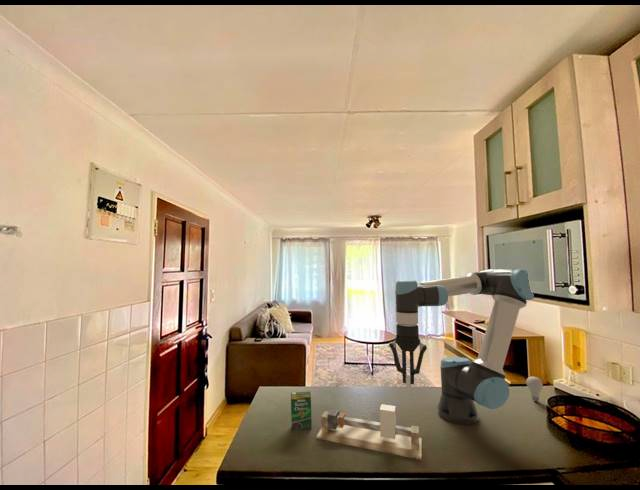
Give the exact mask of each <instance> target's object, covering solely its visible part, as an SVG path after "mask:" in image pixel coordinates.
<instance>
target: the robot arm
mask: <svg viewBox="0 0 640 490" xmlns="http://www.w3.org/2000/svg"><path fill="white" fill-rule="evenodd" d="M526 270H527V269H521V268H520V269H519V268H489V269H485V270H481V271H475V272H470V273H466V275H464V276H457V277H449V278H441V279H436V280H435V279H433V280H428V281H427V280H426V281H420V282H417V280H413V279H412V280H411V279H408V280H407V279H405V280H404V279H401V280H399V279H398V280H397V281H396V282H395V292H394V293H395V320H396V321H395V322H396V326H395V327H396V328H395V329H396V330H395V331H396V334H395V335H396V336H395V339H394V340H393V341H390V342H389V344H388V346H389V348H390V350H391V351H392V355H393V360H394V365H395V367H396V372H399V373H401V375H402V383H403V384H405V395H407V396H411V394H412V385H414V384H415V375H419V374H420V372H421V366H422V362H423V358H424V354H425V352H426V351H427V349H428V348H427V345H426V344H424V343H422V342H421V340H420V336H419V325H418V324H419V307H440V306H445V305H447V303H448V301H449V297H454V296H460V295H468V294H470V295H473V296H476V295H486V296H491V297H492V299H493V301H494V303H493V306H492V309H491V313H490V316H489V319H488V322H487V326H486V330H485V333H484V336H483V339H482V342H481V346H480V348H479V353H478V356H477V358H476V359H472V360H471V359H469V358H466V357H459V356H449V357H443V358H442V359H441V360H440V368H439V369H440V381H441V382H440V383H441V393H440V397H439V401H438V404H437V412H438V413H437V414H438V415H439V416H440V417H441V418H443V419H444V420H446V421H448V422H451V423H454V424H458V425H467V426H468V425H473V424H476V423H477V422H478V421H479V413H478V410H477V408H476V405H475V403H476V404H478V405H479V406H481V407H485V408H486V409H490V410H497V409H499V408H501V407H503V406H504V405H505V404H506V403H507V401H508V399H509V397H510V388H509V384H508V381H506V376H507V374H506V373H505V372H504V369H503V368H504V365H505V361H506V357H507V355H508V351H509V348H510V344H511V341H512V337H513V333H514V329H515V327H516V323H517V320H518V317H519V316H518V315H519V313H520V310H521V309H523V308H526V306H527V302H528V301H532V300H533V299H534V294H533V293H532V292H531V290H530V286H529V280H528V273H527V271H528V270H527V271H526ZM526 300H527V301H526ZM397 346H398V348H399V349H400V350H401V362H400V358H399V354H398V351H397ZM417 348H419V353H418V358H417V362H416V368H415V359H414V352H415V351H416V349H417ZM407 352H409V372H407Z"/></svg>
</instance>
